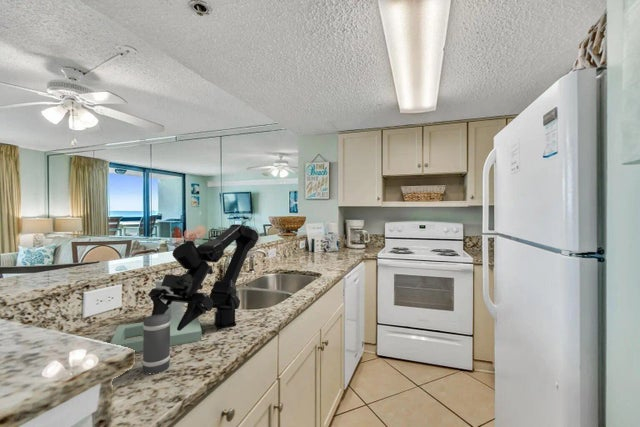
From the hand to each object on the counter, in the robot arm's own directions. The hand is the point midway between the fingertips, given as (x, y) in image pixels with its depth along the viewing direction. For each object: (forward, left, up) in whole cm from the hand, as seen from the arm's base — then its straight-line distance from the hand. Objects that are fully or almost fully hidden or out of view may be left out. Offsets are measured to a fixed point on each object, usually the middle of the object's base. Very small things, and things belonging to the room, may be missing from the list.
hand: (164, 328), depth 76 cm
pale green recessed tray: (+2, -18, -9) cm, 21 cm away
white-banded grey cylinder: (+2, +2, -10) cm, 10 cm away
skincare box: (-1, -35, -10) cm, 37 cm away
